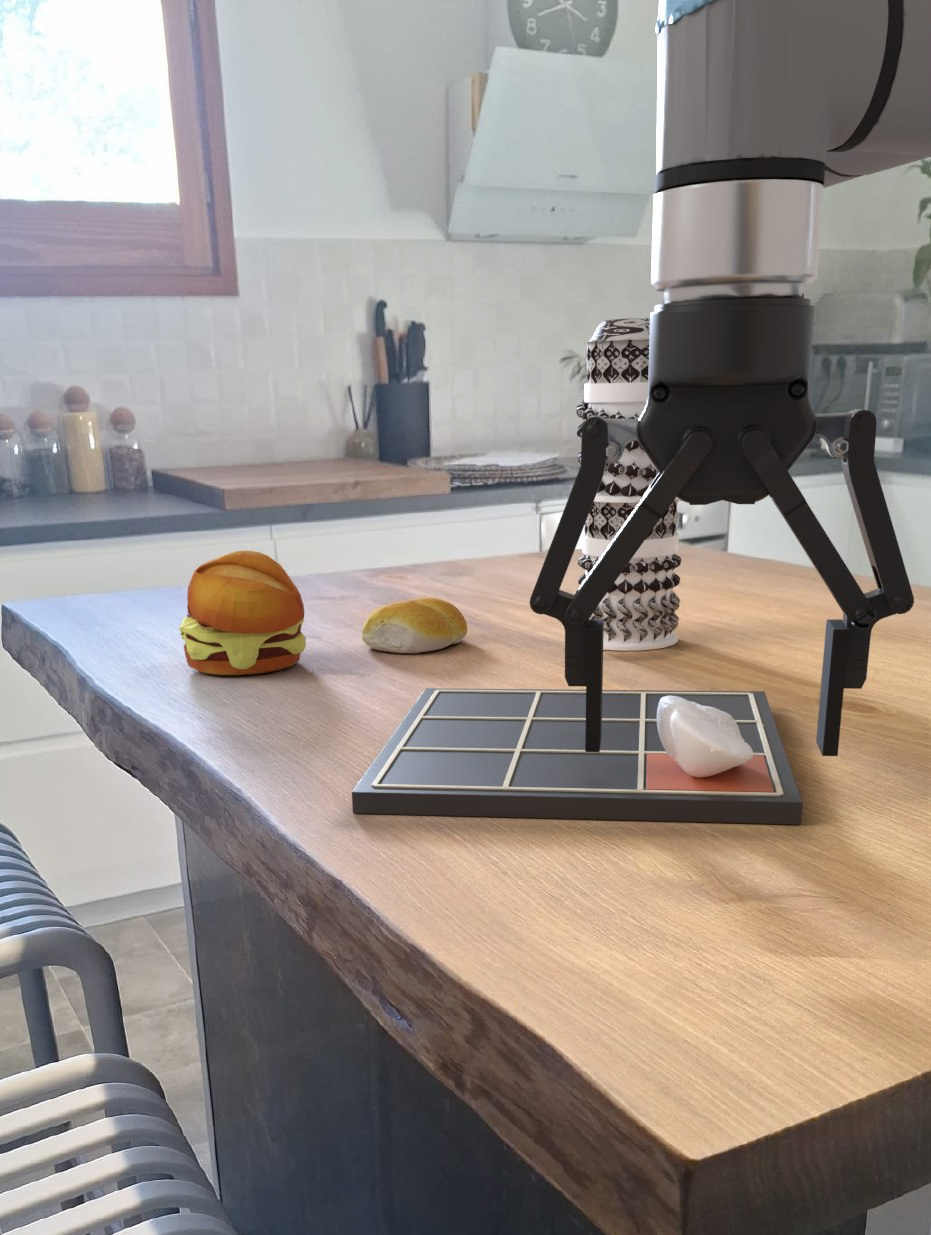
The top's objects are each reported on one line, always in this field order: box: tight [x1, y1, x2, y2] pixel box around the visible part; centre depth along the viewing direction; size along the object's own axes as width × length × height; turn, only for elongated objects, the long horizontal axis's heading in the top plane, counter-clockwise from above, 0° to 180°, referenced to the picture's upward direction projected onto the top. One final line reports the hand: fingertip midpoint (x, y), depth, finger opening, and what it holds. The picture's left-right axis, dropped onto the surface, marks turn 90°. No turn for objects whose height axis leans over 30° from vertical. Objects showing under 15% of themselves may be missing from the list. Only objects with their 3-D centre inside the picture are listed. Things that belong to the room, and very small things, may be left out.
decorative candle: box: [575, 317, 682, 652], centre depth 100 cm, size 9×9×25 cm
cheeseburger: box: [178, 550, 307, 676], centre depth 98 cm, size 10×11×10 cm
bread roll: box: [361, 596, 468, 654], centre depth 105 cm, size 8×9×4 cm
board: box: [351, 687, 804, 826], centre depth 74 cm, size 23×23×1 cm
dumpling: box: [657, 695, 764, 777], centre depth 65 cm, size 7×5×4 cm
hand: (708, 747), depth 65 cm, fingers open, 11 cm apart
